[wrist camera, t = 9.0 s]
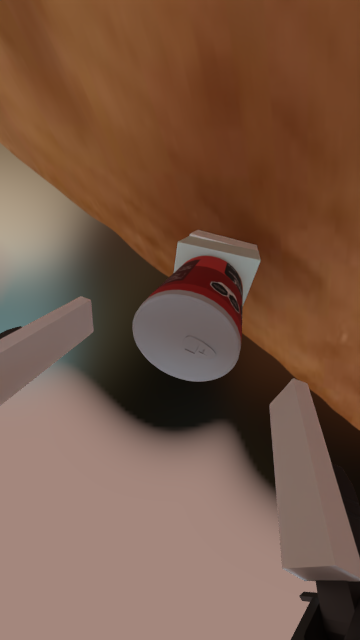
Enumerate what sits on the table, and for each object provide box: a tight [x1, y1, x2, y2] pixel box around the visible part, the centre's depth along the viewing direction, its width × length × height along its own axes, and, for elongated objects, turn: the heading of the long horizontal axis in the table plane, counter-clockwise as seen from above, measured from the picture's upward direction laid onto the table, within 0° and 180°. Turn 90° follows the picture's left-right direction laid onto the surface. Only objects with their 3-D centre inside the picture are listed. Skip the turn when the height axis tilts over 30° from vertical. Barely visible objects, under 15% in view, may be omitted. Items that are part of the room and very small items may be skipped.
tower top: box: [174, 236, 261, 307], centre depth 24 cm, size 9×9×5 cm
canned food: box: [133, 256, 243, 381], centre depth 18 cm, size 8×8×11 cm
